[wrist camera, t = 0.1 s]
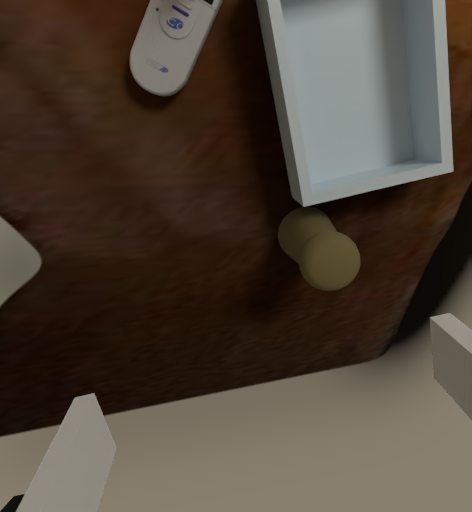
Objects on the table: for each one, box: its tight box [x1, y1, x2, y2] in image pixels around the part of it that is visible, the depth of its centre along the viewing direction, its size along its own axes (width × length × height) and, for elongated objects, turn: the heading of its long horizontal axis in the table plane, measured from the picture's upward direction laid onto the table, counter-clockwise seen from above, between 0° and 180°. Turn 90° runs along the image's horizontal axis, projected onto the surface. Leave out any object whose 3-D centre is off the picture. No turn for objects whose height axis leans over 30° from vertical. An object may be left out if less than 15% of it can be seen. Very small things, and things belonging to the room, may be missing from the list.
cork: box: [278, 206, 360, 291], centre depth 37 cm, size 6×6×11 cm
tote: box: [256, 0, 453, 207], centre depth 35 cm, size 20×14×6 cm
